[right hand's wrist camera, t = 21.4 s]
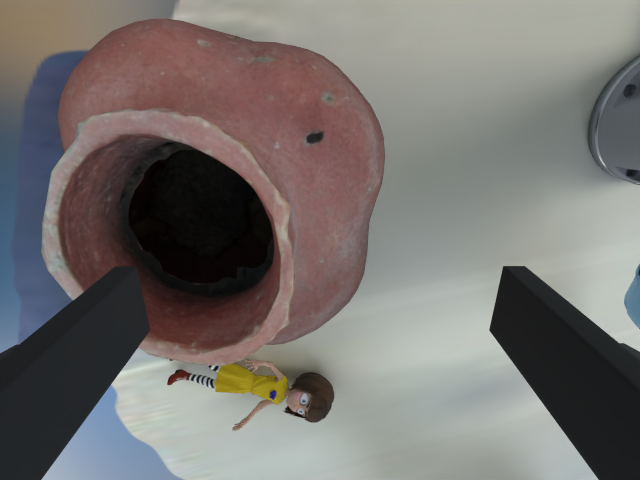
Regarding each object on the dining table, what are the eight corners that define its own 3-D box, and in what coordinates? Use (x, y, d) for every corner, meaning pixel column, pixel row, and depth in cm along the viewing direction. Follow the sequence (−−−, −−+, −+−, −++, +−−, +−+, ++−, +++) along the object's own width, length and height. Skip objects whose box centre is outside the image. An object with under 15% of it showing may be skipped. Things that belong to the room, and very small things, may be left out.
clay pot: (84, 71, 40) (-251, 33, 16) (347, 9, 37) (392, -138, 14) (177, 299, 51) (57, 468, 28) (384, 262, 48) (444, 411, 25)
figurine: (164, 342, 48) (341, 391, 47) (190, 313, 55) (344, 355, 54) (159, 412, 53) (319, 457, 52) (183, 377, 60) (325, 416, 59)
